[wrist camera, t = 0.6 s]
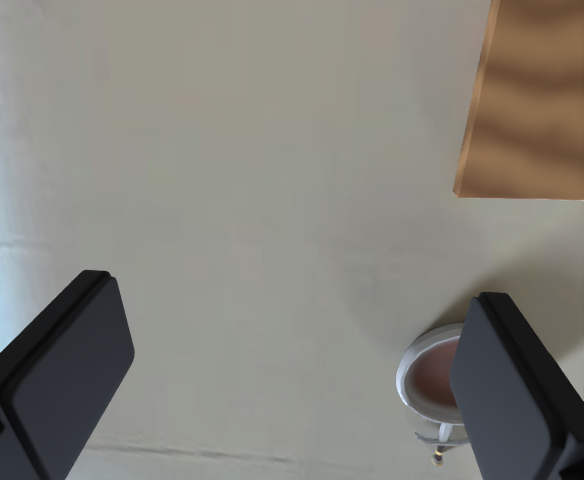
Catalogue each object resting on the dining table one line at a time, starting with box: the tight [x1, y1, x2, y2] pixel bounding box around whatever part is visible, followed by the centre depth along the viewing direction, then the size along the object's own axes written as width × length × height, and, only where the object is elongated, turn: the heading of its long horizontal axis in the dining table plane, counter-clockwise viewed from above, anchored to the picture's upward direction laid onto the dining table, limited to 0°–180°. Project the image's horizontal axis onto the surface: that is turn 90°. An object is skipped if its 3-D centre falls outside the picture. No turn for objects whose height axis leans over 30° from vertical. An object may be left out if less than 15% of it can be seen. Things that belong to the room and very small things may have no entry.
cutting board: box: [453, 0, 584, 200], centre depth 32 cm, size 22×15×2 cm
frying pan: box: [396, 323, 470, 466], centre depth 52 cm, size 17×3×28 cm
